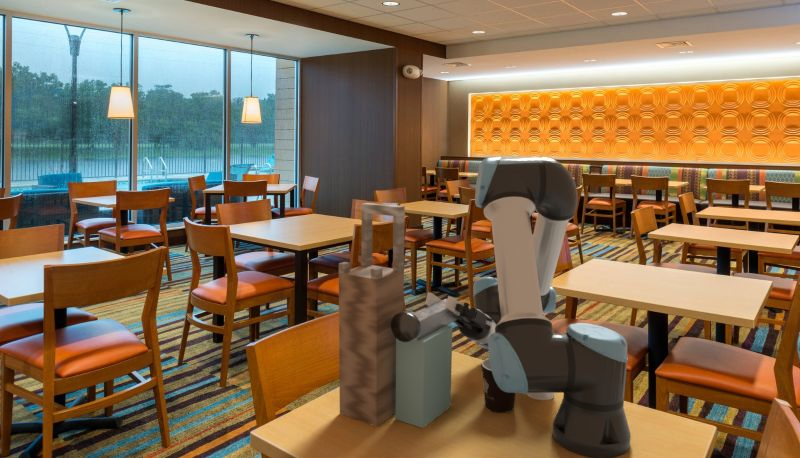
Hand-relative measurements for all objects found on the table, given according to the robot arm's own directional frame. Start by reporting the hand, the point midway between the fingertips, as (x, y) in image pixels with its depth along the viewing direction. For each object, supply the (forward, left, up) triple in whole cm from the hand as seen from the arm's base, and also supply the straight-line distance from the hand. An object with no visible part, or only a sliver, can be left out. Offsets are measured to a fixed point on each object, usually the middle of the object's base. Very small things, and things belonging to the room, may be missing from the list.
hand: (438, 300), depth 132 cm
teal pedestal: (0, +5, -25) cm, 25 cm away
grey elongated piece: (0, +3, -6) cm, 7 cm away
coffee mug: (-12, -9, -25) cm, 29 cm away
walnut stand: (+10, +11, -25) cm, 29 cm away
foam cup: (-18, -19, -25) cm, 36 cm away
